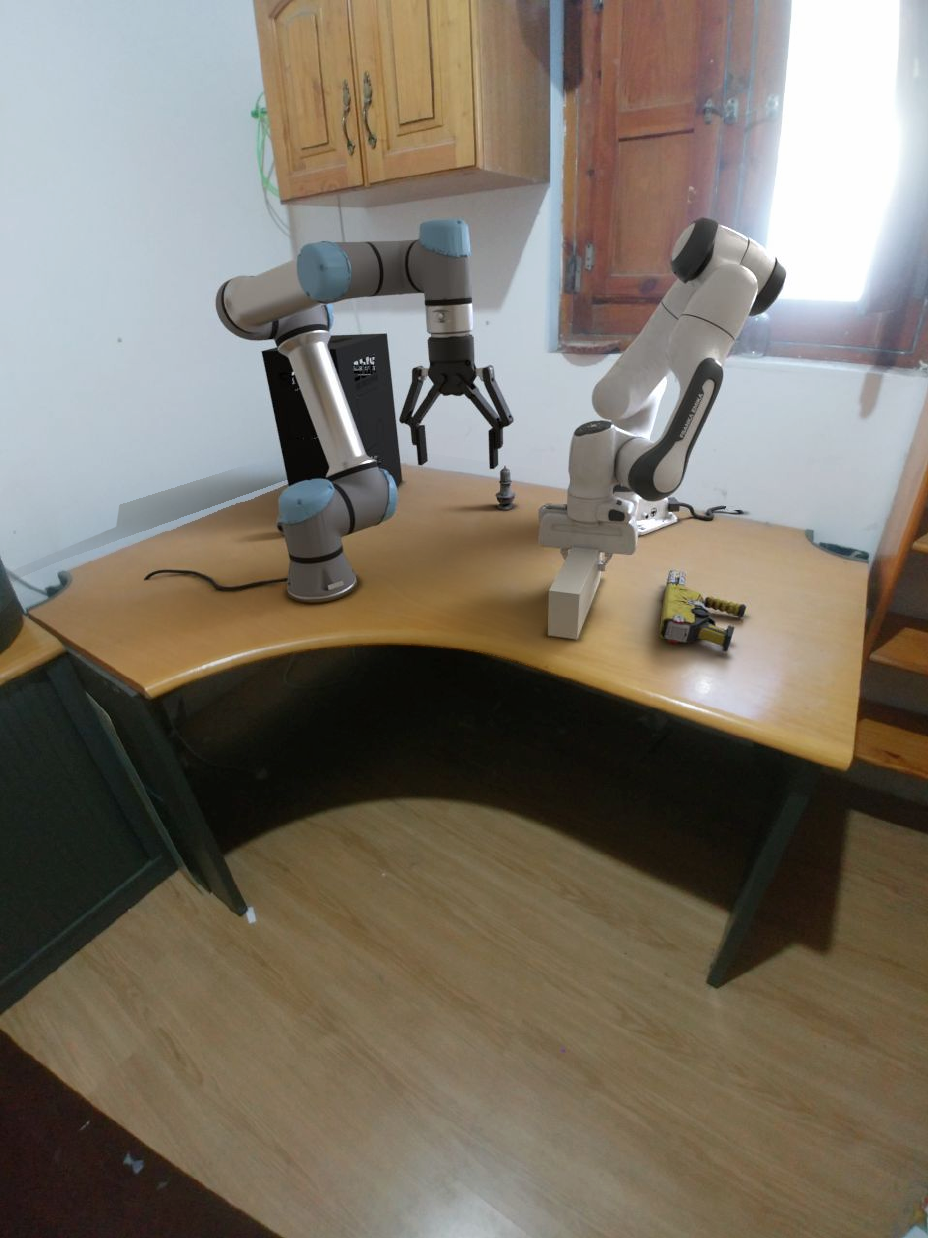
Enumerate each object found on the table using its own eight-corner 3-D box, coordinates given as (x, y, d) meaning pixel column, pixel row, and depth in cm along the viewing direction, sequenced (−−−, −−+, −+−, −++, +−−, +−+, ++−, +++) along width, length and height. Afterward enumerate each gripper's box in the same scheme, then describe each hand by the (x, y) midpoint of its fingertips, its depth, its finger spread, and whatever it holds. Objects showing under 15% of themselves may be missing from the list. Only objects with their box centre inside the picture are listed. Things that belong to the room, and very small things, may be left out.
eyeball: (273, 537, 164) (268, 516, 161) (287, 528, 169) (282, 508, 166) (291, 539, 161) (286, 518, 158) (305, 530, 166) (301, 510, 163)
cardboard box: (360, 522, 170) (335, 348, 148) (295, 519, 175) (261, 351, 152) (402, 481, 202) (386, 333, 179) (346, 480, 206) (324, 335, 184)
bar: (575, 577, 134) (576, 537, 129) (600, 580, 132) (603, 539, 127) (547, 635, 113) (548, 590, 108) (577, 639, 111) (579, 594, 107)
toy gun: (745, 580, 121) (669, 567, 125) (754, 637, 101) (663, 618, 105) (739, 601, 124) (664, 587, 127) (746, 660, 103) (657, 641, 107)
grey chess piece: (514, 510, 172) (514, 468, 166) (494, 509, 173) (493, 468, 167) (517, 503, 177) (516, 462, 171) (497, 502, 178) (496, 462, 172)
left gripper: (370, 338, 98) (385, 467, 109) (518, 335, 90) (519, 474, 101) (391, 333, 104) (403, 456, 115) (531, 330, 96) (530, 462, 107)
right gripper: (534, 507, 122) (534, 569, 129) (638, 515, 115) (632, 580, 122) (542, 497, 127) (541, 557, 134) (642, 504, 120) (636, 567, 127)
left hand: (457, 465), depth 108 cm, fingers open, 13 cm apart
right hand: (585, 568), depth 128 cm, fingers closed on bar, 5 cm apart
